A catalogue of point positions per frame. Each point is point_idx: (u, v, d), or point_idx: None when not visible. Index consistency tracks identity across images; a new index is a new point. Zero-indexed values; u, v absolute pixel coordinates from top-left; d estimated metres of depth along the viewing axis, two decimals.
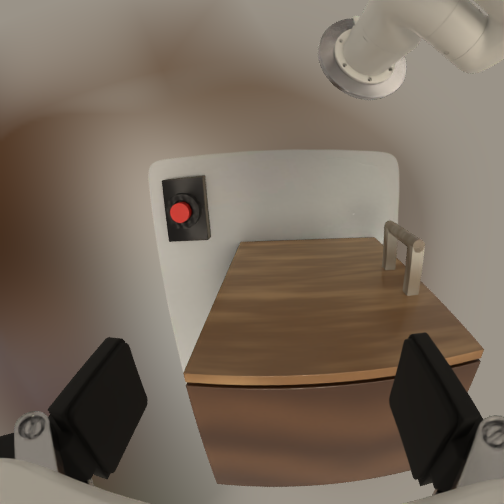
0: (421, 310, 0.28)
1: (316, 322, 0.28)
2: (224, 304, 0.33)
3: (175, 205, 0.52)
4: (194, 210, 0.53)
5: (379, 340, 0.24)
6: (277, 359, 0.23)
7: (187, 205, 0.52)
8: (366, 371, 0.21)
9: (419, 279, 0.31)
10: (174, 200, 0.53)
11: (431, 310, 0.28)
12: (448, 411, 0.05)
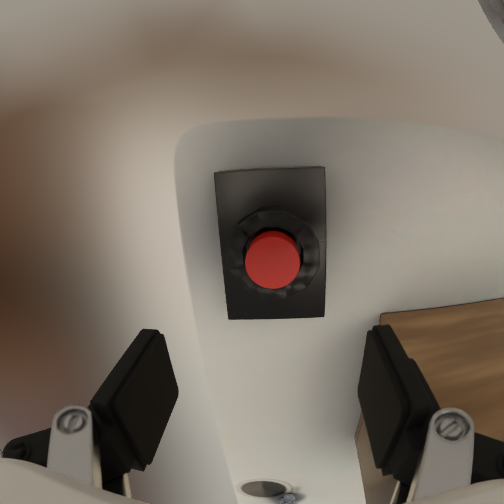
0: None
1: None
2: None
3: (262, 243, 0.19)
4: (308, 255, 0.21)
5: None
6: None
7: (292, 242, 0.20)
8: None
9: None
10: (254, 227, 0.20)
11: None
12: (401, 400, 0.06)
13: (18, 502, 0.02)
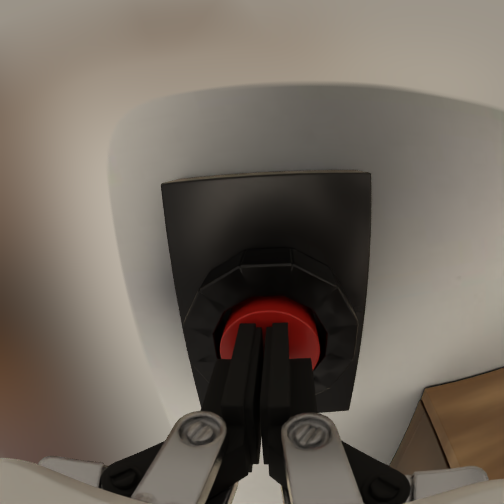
0: None
1: None
2: None
3: (250, 320, 0.10)
4: (336, 342, 0.10)
5: None
6: None
7: (307, 314, 0.11)
8: None
9: None
10: (233, 294, 0.10)
11: None
12: (263, 396, 0.07)
13: (18, 502, 0.02)
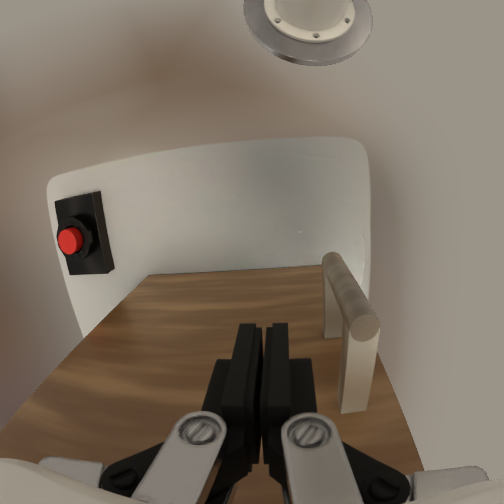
0: None
1: None
2: (48, 390, 0.17)
3: (62, 232, 0.36)
4: (84, 237, 0.37)
5: None
6: None
7: (75, 232, 0.36)
8: None
9: (368, 387, 0.14)
10: (63, 226, 0.37)
11: (380, 460, 0.11)
12: (263, 396, 0.07)
13: (18, 502, 0.02)
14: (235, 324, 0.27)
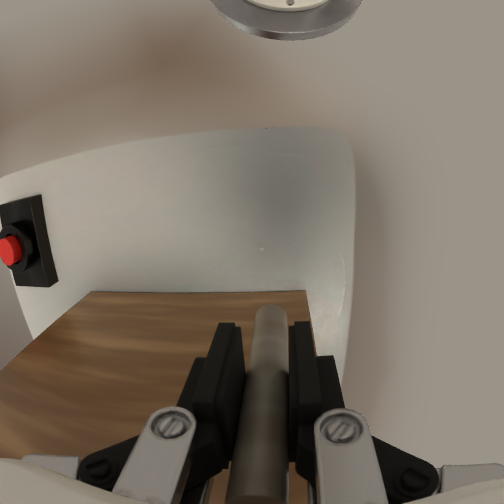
0: None
1: None
2: None
3: (1, 241, 0.28)
4: (22, 248, 0.29)
5: None
6: None
7: (13, 241, 0.28)
8: None
9: None
10: (4, 233, 0.29)
11: None
12: (293, 394, 0.07)
13: (18, 502, 0.02)
14: (153, 377, 0.19)
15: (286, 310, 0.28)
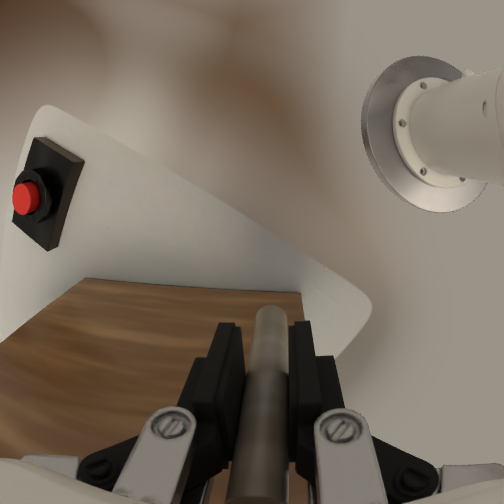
0: None
1: None
2: None
3: (20, 185, 0.25)
4: (40, 206, 0.27)
5: None
6: None
7: (34, 194, 0.26)
8: None
9: None
10: (27, 176, 0.26)
11: None
12: (293, 394, 0.07)
13: (18, 502, 0.02)
14: (145, 370, 0.19)
15: None
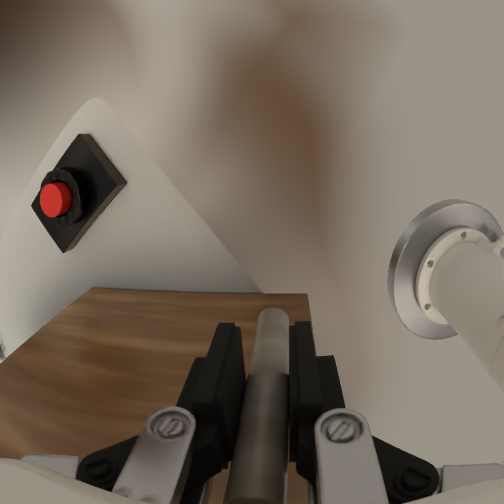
0: None
1: None
2: None
3: (53, 187, 0.25)
4: (69, 214, 0.27)
5: None
6: None
7: (66, 201, 0.26)
8: None
9: None
10: (62, 177, 0.26)
11: None
12: (293, 394, 0.07)
13: (18, 502, 0.02)
14: (153, 376, 0.19)
15: (287, 313, 0.28)
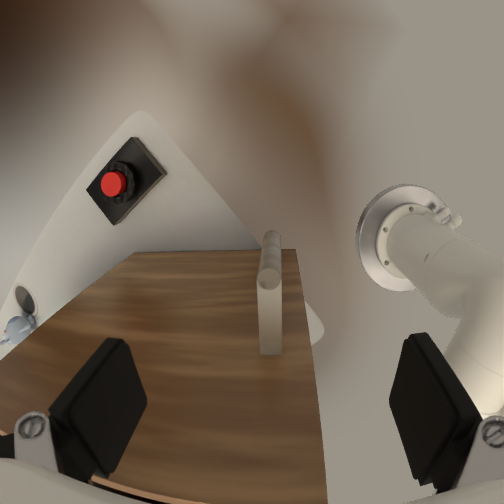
0: (263, 388, 0.17)
1: None
2: (41, 332, 0.23)
3: (114, 174, 0.39)
4: (124, 195, 0.41)
5: (142, 432, 0.14)
6: (21, 413, 0.13)
7: (123, 185, 0.40)
8: None
9: (279, 332, 0.20)
10: (119, 167, 0.40)
11: (282, 391, 0.17)
12: (448, 411, 0.05)
13: (18, 502, 0.02)
14: (196, 289, 0.33)
15: (281, 258, 0.41)
